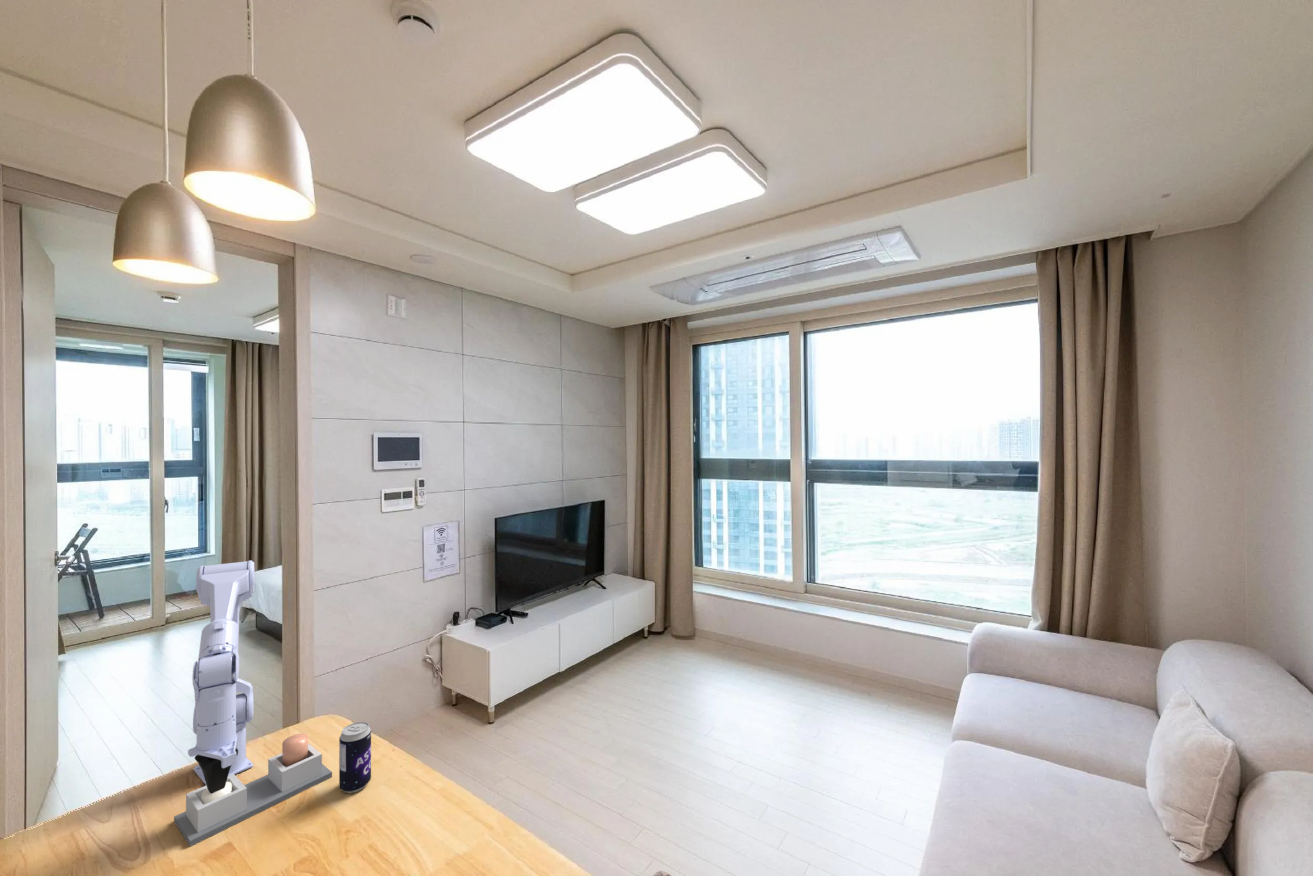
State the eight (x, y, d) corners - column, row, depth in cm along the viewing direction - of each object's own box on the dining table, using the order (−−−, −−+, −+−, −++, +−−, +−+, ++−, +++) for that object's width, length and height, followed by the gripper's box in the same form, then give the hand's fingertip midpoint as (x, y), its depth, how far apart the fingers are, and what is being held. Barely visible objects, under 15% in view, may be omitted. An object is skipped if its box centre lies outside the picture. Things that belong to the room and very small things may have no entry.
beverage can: (356, 797, 104) (356, 738, 104) (332, 793, 105) (332, 734, 105) (377, 779, 110) (377, 722, 110) (354, 775, 111) (354, 719, 111)
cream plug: (198, 813, 98) (198, 791, 98) (227, 800, 102) (227, 778, 102) (205, 823, 95) (205, 800, 95) (235, 809, 99) (235, 787, 99)
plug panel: (174, 821, 97) (174, 795, 97) (311, 759, 116) (311, 737, 116) (189, 846, 92) (189, 818, 92) (331, 776, 110) (332, 753, 110)
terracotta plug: (278, 761, 109) (278, 741, 109) (302, 751, 112) (302, 731, 112) (287, 769, 106) (287, 748, 106) (311, 758, 110) (311, 738, 110)
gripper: (177, 715, 99) (177, 786, 99) (201, 741, 91) (201, 819, 91) (224, 700, 105) (224, 767, 105) (250, 723, 97) (250, 796, 97)
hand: (216, 790), depth 98 cm, fingers closed, pressing on cream plug
